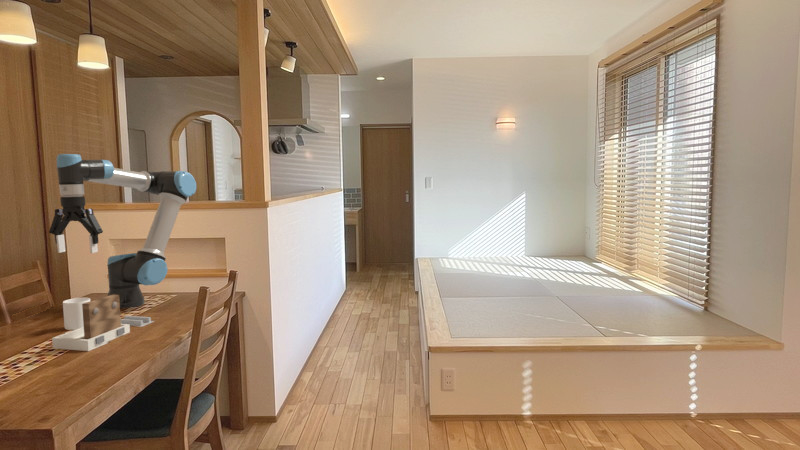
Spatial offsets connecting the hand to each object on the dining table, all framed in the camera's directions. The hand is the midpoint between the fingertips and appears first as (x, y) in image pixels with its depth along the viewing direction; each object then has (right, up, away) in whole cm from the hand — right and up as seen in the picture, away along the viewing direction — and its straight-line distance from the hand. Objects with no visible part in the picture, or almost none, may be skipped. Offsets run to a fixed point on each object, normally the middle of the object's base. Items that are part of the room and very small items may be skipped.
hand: (77, 252), depth 177 cm
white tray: (+14, -30, -13) cm, 36 cm away
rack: (+18, -28, +6) cm, 34 cm away
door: (+18, -29, -14) cm, 37 cm away
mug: (+1, -29, +2) cm, 29 cm away
